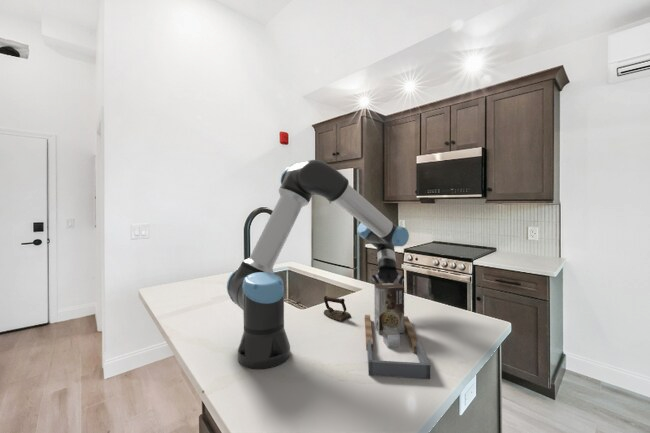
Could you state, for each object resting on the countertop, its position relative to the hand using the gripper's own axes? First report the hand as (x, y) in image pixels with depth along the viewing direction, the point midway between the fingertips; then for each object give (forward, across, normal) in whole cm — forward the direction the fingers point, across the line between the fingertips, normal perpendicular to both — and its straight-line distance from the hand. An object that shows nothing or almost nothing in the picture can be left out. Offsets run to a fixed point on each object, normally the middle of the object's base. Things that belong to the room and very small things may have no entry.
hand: (391, 316), depth 110 cm
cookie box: (+6, +1, +1) cm, 6 cm away
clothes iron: (-2, +21, -7) cm, 22 cm away
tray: (+21, +2, +17) cm, 27 cm away
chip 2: (+13, +2, +9) cm, 16 cm away
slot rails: (+8, +2, +4) cm, 9 cm away
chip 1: (+9, +2, +5) cm, 11 cm away
